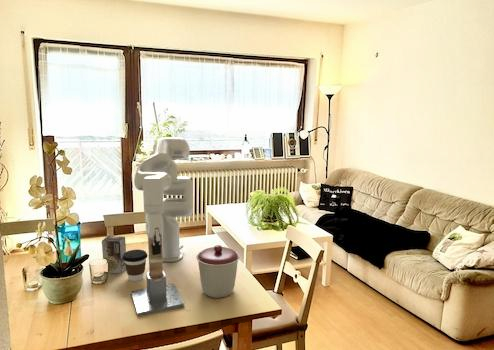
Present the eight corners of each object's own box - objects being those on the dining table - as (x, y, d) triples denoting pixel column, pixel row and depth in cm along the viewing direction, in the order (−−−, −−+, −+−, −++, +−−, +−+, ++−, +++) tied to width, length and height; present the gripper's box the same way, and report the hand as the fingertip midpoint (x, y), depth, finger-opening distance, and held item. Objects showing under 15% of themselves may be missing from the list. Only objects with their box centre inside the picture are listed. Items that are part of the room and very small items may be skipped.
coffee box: (127, 268, 186) (125, 236, 183) (121, 274, 180) (120, 241, 176) (109, 267, 187) (107, 235, 184) (103, 272, 180) (101, 240, 177)
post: (149, 276, 156) (147, 229, 152) (160, 274, 158) (159, 228, 154) (151, 281, 152) (149, 233, 148) (163, 279, 153) (161, 231, 150)
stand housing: (131, 294, 161) (129, 269, 159) (173, 286, 168) (173, 262, 166) (137, 316, 145) (136, 288, 143) (184, 306, 152) (183, 280, 150)
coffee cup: (141, 285, 169) (140, 259, 167) (118, 282, 171) (117, 257, 169) (152, 274, 180) (151, 250, 177) (130, 271, 182) (129, 248, 179)
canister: (236, 280, 174) (236, 237, 170) (241, 301, 157) (242, 253, 153) (196, 283, 172) (195, 238, 168) (197, 304, 154) (196, 255, 150)
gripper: (140, 203, 155) (142, 245, 159) (147, 214, 140) (149, 261, 143) (159, 201, 158) (160, 243, 162) (168, 212, 143) (169, 258, 146)
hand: (155, 251), depth 152 cm, fingers closed on post, 4 cm apart
